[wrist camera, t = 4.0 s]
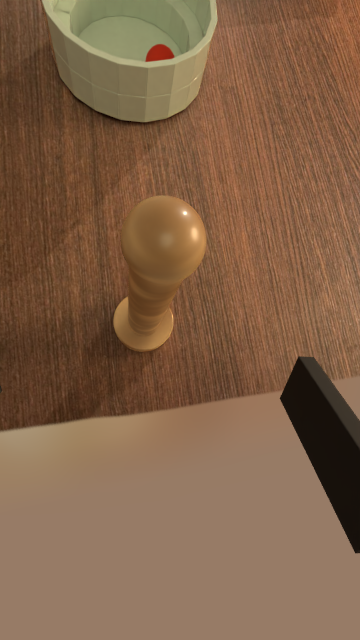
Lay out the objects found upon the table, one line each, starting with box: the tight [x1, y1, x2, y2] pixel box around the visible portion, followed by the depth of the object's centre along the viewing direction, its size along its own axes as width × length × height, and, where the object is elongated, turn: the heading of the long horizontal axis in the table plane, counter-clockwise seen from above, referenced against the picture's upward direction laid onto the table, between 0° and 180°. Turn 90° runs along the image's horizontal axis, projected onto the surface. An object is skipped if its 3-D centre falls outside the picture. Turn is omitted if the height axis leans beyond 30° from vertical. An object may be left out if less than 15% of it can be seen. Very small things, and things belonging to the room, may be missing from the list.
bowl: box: [40, 0, 217, 122], centre depth 29 cm, size 15×15×6 cm
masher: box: [113, 196, 206, 352], centre depth 18 cm, size 5×5×17 cm
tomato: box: [145, 44, 175, 62], centre depth 30 cm, size 3×3×3 cm
